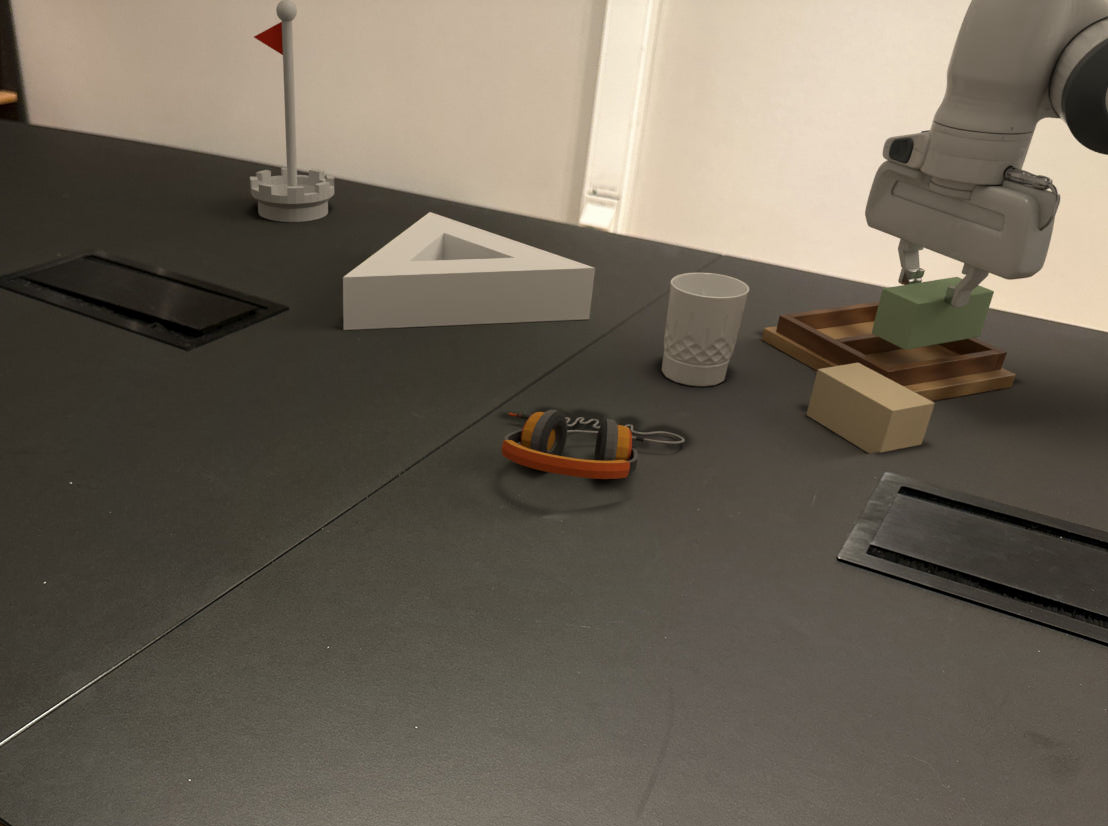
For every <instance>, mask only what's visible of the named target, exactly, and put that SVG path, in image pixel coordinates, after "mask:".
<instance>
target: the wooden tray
mask: <svg viewBox="0 0 1108 826" xmlns="http://www.w3.org/2000/svg"><path fill="white" fill-rule="evenodd" d="M879 302H880V300H879V301H871V302H866V303H865V302H864V303H859V304H851V305H843V306H835V307H828V308H821V309H814V310H806V311H799V312H792V313H786V314H780V315H779V316H778V321H777V325H775V326H769V327H764V328H763V330H762V331H763V332H762V336H761V341H763V342H765V343H767V344H768V345H770V346H772V347H774V348H775V349H777V350H779V351H781V352H783V353H785V354H786V355H788V356H789V357H791V358H793V359H795V360H797V361H799V362H801V363H802V364H804V365H806V366H808V367H809V368H811V369H812V370H814V371H816V372H817V371H818V369H822V368H828V367H834V366H840V365H847V364H853V363H860V364H862V365H864V366H865V367H867V368H869V369H871V370H873V371H875V372H877V373H879V374H881V375H883V376H885V377H886V378H888V379H890V380H892V381H894V382H896V383H898V384H900V385H902V386H904V387H905V388H907V389H909V390H911V391H913V392H915V393H917V394H919V395H921V396H923V397H924V398H926V399H928V400H930V401H932V402H935V401H940V400H947V399H952V398H953V399H954V398H957V397H964V396H969V395H974V394H980V393H981V394H982V393H985V392H990V391H997V390H1003V389H1009V388H1012V386H1013V384H1014V381H1015V378H1016V375H1017V374H1016V373H1014V372H1011V371H1009V370H1007V369H1005V368H1003V365H1004V363H1005V359H1006V357H1007V354H1008V351H1006V350H1003V349H1001V348H1000V347H997V346H994V345H992V344H990V343H987V342H985V341H984V340H981V339H978V337H974V338H969V339H963V340H958V341H952V342H947V343H941V344H936V345H930V346H925V347H919V348H913V349H908V350H905V349H903V348H901V347H899V346H897V345H894V344H892V343H890V342H888V341H886V340H884V339H882V338H880V337H878V336H876V335H874V334H872V329H873V325H874V321H875V317H876V314H877V310H878V306H879Z"/></svg>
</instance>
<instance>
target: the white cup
mask: <svg viewBox="0 0 1108 826" xmlns="http://www.w3.org/2000/svg"><path fill="white" fill-rule="evenodd" d="M749 292H750V286H749V285H748V284H747V283H745V282H744V281H742V280H740V279H738V278H736V277H732V276H730V275H726V274H721V273H713V272H687V273H682V274H677V275H675V276H674V277H672V278H671V279H670V284H669V293H668V301H667V309H666V318H665V327H664V337H663V338H664V339H663V346H664V347H663V348H664V349H663V354H662V355H663V356H662V363H661V372H662V373H663V375H664V377H666V378H667V379H669V380H670V381H673V382H675V383H677V384H682V385H686V386H690V387H710V386H717V385H718V384H721V383H722V382H724V381H725V379H726V376H727V372H728V368H729V364H730V361H731V358H732V357H733V353H734V350H735V349H734V348H735V346H736V343H737V339H738V334H739V332H740V329H741V324H742V320H743V316H744V313H745V308H746V305H747V301H748V297H749Z"/></svg>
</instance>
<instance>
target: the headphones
mask: <svg viewBox="0 0 1108 826" xmlns="http://www.w3.org/2000/svg"><path fill="white" fill-rule="evenodd" d="M507 414H508V415H507V416H510V417H516V418H518V419H523V420H526V421H525V423H524V425H523V427H522V429H518V430H513V431H512V432H510V433H508V434H506V435H504V439H503V441H502V445H501V454H502V456H503V457H504V458H505V459H507V460H509V461H511V462H513V463H515V464H518V465H520V466H524V467H526V468H530V469H534V470H538V471H541V472H547V473H551V474H556V475H562V476H569V477H574V478H582V479H583V478H585V479H595V480H596V479H597V480H614V479H626V478H628V475H629V474H632V473H634V472H636V470H637V465H638V460H639V452H638V450H637V443H636V442H633V440H635V441H637V442H650V443H656V444H665V445H678V444H683V443H685V438H684V437H683V436H681V435H679V434H676V433H673V432H669V431H661V430H660V431H649V432H648V431H647V432H641V431H636V430H634V425H633V424H629V423H628V424H625V425H620V424H618V423H617V421H616V420H615V419H612V418H611V419H610V418H605V419H604V420H603V421H602V422H601V423H600V421H599V419H596V418H590V419H588V420H587V421H585V418H584V417H583V416H579V417H576V419H575V420H574V422H572V423H570V424H569V422H570V421H571V417H568V416H567V417H566V416H565V414H564V412H562V411H561V410H557V409H548V410H546V411H544V412H543V411H536V412H534V413H532V414H531V415H528V414H523V413H512V412H508V413H507ZM591 422H595V423H594V424H592V428H593V429H595V430H582V429H570V430H569V429H568V428H569V427H573V426H575V425H576V424H577V423H579V424H580V425H587V424H590V423H591ZM599 423H600V425H598V424H599ZM597 425H598V426H597ZM569 433H575V434H576V433H577V434H578V433H579V434H595V435H596V434H597V435H596V439H595V440H596V441H595V448H594V456H593V459H583V458H574V457H568V456H563V452H564V449H565V446H566V443H567V438H568V434H569ZM633 434H635V435H636V436H633ZM640 435H641V436H640ZM649 435H650V436H651V435H668V436H672V437H675V438H678V439H680V440H679V441H678V440H677V441H669V440H668V441H667V440H660V439H659V440H657V439H650V438H645V436H649Z"/></svg>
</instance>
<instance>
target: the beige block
mask: <svg viewBox="0 0 1108 826" xmlns="http://www.w3.org/2000/svg"><path fill="white" fill-rule="evenodd" d="M934 407H935V401H930V400H928V399H926V398H924V397H923V396H921V395H919V394H917V393H915V392H913V391H911V390H909V389H907V388H905V387H904V386H902V385H900V384H898V383H896V382H894V381H892V380H890V379H888V378H886V377H885V376H883V375H881V374H879V373H877V372H875V371H873V370H871V369H869V368H867V367H865V366H864V365H862V364H860V363H853V364H847V365H840V366H834V367H828V368H822V369H818V371H816V375H815V379H814V382H813V387H812V391H811V395H810V398H809V403H808V406H807V411H806V416H808V418H811V419H812V420H814V421H815V422H817V423H819V424H820V425H822V426H823V427H825V428H827V429H828V430H830V431H831V432H833V433H835V434H836V435H838V436H840V437H841V438H843V439H845V440H846V441H848V442H850V443H851V444H852V445H854V446H857V447H858V448H859V449H861V450H862V451H864V452H865V453H867V454H876V453H886V452H891V451H896V450H900V449H905V448H910V447H916V446H920V445H923V441H924V438H925V434H926V432H927V430H928V427H929V423H930V419H931V416H932V414H933V410H934Z"/></svg>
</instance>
